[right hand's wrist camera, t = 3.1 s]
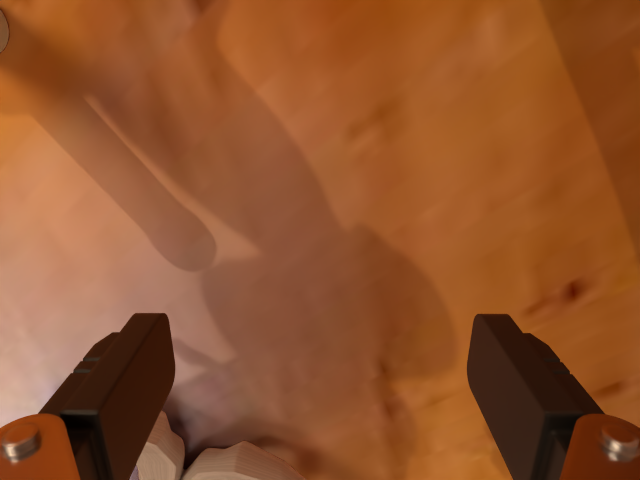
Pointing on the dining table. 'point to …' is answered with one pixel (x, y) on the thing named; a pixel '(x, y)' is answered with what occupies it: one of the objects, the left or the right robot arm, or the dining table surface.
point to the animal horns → (207, 460)
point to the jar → (3, 32)
